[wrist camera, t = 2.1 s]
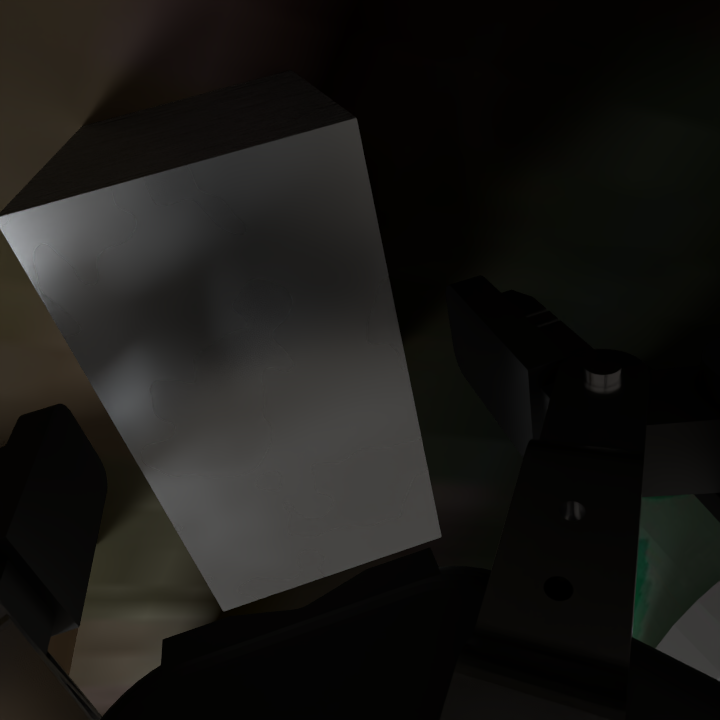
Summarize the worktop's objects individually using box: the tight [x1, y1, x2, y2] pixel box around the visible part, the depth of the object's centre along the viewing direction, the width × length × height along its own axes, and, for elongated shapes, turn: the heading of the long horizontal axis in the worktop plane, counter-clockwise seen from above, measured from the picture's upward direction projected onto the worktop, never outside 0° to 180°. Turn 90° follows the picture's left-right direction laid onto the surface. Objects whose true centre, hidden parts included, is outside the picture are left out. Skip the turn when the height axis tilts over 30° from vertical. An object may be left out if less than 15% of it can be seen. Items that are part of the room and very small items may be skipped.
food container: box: [632, 494, 720, 681], centre depth 20 cm, size 12×6×10 cm, turn 15°
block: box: [0, 70, 441, 611], centre depth 13 cm, size 9×5×7 cm, turn 12°
